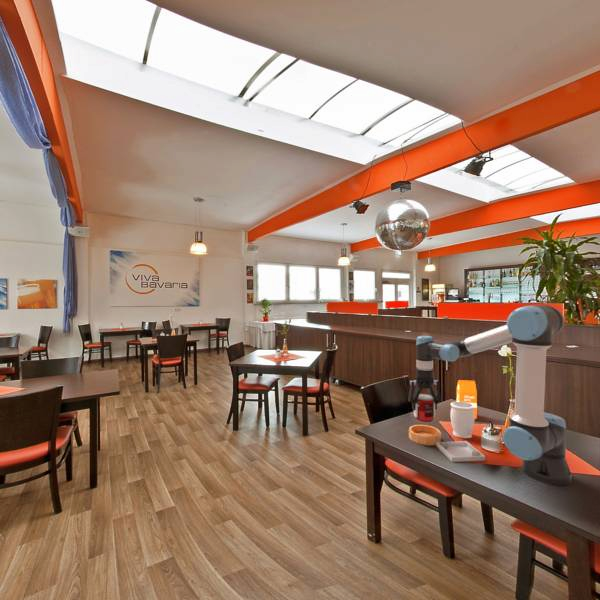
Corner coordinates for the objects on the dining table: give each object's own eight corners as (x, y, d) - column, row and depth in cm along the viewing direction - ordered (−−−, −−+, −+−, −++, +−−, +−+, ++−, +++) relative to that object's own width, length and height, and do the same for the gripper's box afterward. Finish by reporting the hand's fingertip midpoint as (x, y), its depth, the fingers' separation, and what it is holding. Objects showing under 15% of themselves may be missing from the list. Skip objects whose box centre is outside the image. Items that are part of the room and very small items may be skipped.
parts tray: (485, 461, 137) (485, 456, 137) (451, 462, 136) (451, 457, 136) (466, 445, 151) (466, 441, 151) (436, 446, 150) (436, 442, 150)
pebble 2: (481, 459, 138) (481, 452, 138) (474, 459, 138) (474, 452, 138) (477, 456, 141) (477, 449, 141) (470, 456, 141) (470, 449, 141)
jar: (469, 431, 167) (469, 401, 166) (478, 440, 156) (478, 408, 156) (447, 430, 168) (447, 400, 167) (454, 439, 157) (454, 407, 157)
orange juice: (477, 418, 183) (477, 382, 182) (459, 417, 185) (459, 381, 184) (473, 413, 190) (473, 379, 190) (456, 412, 192) (456, 378, 192)
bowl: (446, 445, 151) (446, 436, 151) (416, 446, 151) (416, 437, 151) (432, 432, 165) (432, 424, 165) (404, 433, 165) (404, 425, 165)
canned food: (417, 415, 163) (417, 392, 163) (434, 418, 159) (434, 395, 159) (413, 420, 157) (414, 397, 157) (431, 423, 153) (432, 399, 152)
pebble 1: (449, 449, 146) (449, 443, 146) (442, 450, 146) (442, 443, 146) (446, 446, 149) (446, 440, 149) (439, 447, 149) (439, 440, 149)
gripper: (442, 366, 162) (442, 412, 162) (400, 367, 161) (400, 413, 161) (449, 370, 154) (449, 418, 155) (406, 370, 153) (405, 419, 154)
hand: (424, 416), depth 158 cm, fingers closed on canned food, 8 cm apart
